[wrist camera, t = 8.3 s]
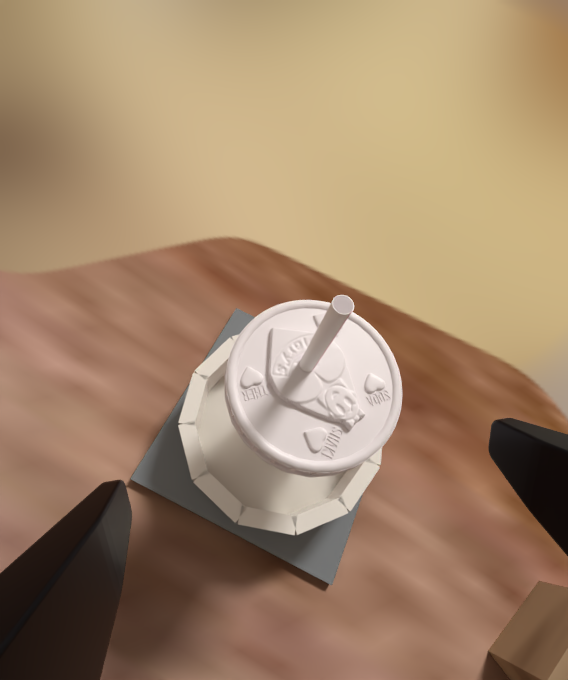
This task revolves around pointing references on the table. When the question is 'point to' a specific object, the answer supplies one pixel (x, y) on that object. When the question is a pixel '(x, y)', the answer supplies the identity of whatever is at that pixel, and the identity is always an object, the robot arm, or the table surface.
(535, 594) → the walnut block
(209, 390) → the white bowl
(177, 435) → the mat
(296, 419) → the smoothie
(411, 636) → the table surface
